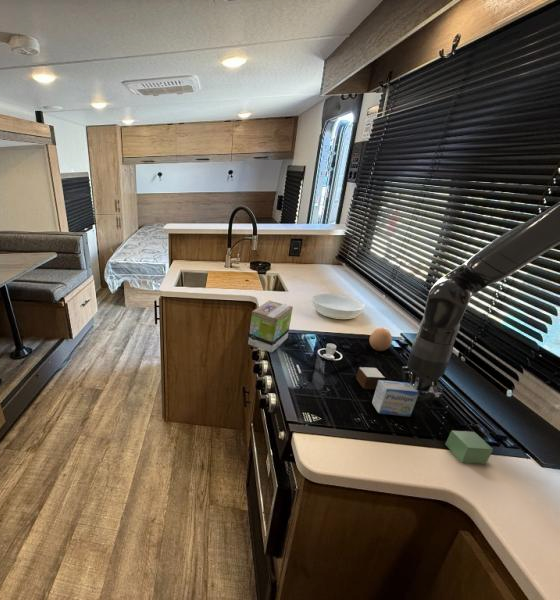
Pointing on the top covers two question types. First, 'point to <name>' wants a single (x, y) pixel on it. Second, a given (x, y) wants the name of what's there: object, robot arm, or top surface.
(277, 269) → the top surface
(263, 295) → the top surface
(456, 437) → the sage block
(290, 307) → the tea box
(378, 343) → the egg
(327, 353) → the white ring with knob
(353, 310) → the serving bowl
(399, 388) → the medicine box
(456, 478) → the top surface
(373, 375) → the walnut block
